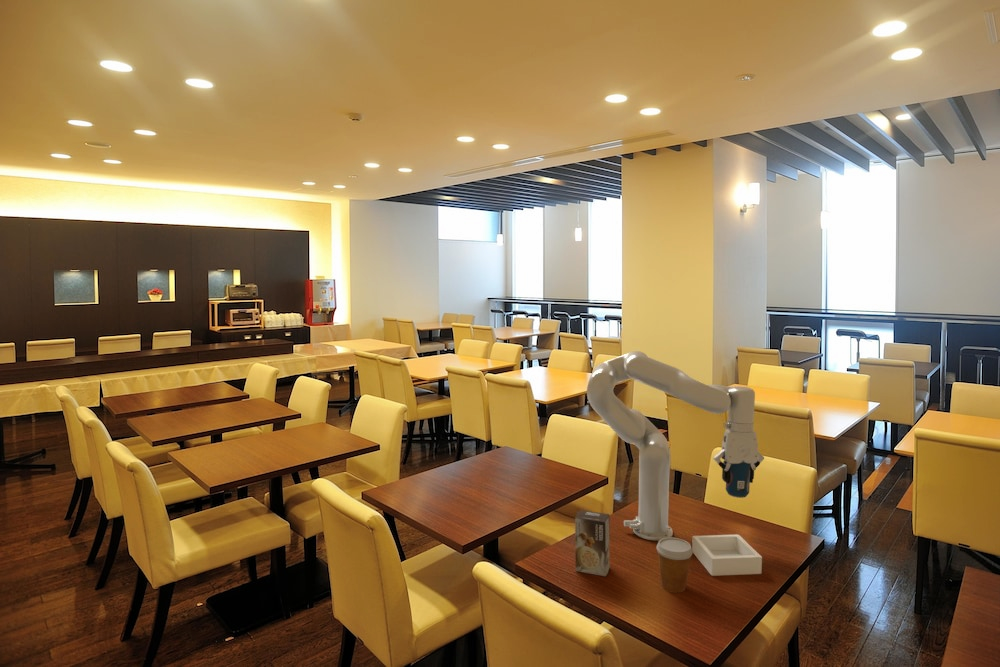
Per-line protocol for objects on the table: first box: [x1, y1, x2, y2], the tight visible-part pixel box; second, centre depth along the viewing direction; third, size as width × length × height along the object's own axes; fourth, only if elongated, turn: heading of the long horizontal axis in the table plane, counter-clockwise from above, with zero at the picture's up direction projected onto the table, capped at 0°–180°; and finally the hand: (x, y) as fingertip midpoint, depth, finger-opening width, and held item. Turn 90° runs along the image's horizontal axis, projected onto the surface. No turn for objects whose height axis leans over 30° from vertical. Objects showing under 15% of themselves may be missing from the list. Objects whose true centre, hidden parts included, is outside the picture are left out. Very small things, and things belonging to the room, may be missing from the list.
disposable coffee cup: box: [656, 536, 694, 593], centre depth 159 cm, size 10×10×12 cm
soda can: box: [725, 461, 751, 499], centre depth 185 cm, size 7×7×12 cm
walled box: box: [691, 534, 763, 577], centre depth 173 cm, size 14×14×5 cm
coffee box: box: [574, 509, 610, 577], centre depth 169 cm, size 9×6×16 cm
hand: (737, 481), depth 185 cm, fingers closed on soda can, 6 cm apart
